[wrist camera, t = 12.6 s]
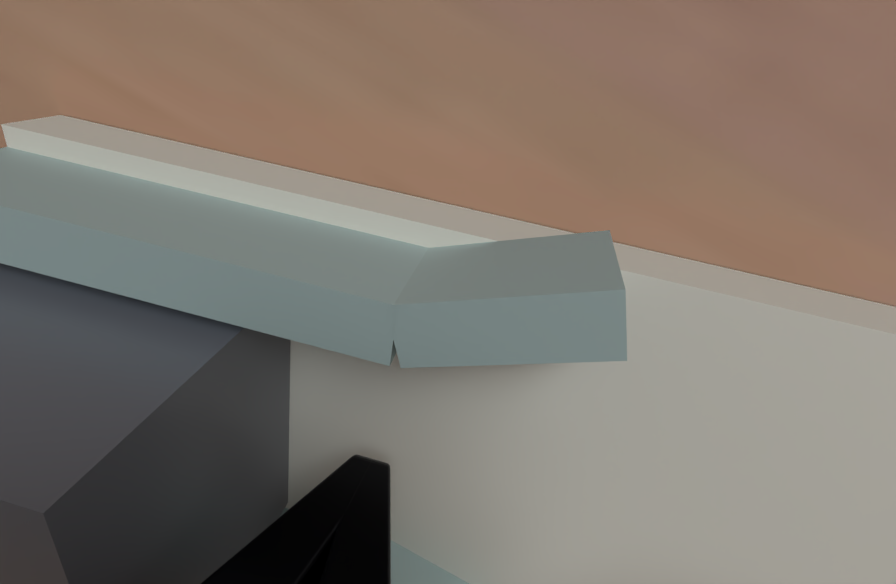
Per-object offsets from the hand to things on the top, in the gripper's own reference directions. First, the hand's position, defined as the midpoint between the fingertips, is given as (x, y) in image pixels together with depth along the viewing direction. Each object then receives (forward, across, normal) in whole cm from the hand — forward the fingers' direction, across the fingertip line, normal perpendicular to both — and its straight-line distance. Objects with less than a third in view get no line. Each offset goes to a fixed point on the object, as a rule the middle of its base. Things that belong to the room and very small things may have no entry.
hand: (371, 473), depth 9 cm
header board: (+2, -1, 0) cm, 3 cm away
